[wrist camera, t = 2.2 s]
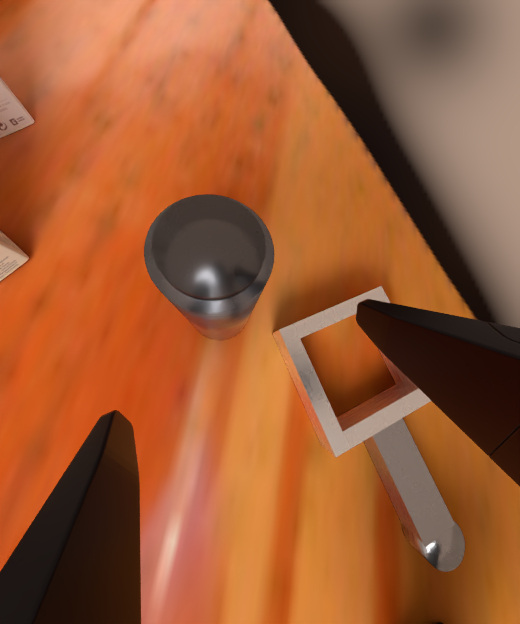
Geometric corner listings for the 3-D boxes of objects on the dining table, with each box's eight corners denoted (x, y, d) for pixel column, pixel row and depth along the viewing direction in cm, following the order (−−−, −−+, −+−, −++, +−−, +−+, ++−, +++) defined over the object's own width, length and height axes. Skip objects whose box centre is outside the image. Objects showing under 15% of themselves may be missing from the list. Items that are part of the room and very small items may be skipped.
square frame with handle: (474, 511, 18) (512, 533, 16) (381, 582, 16) (408, 620, 14) (363, 294, 21) (381, 285, 19) (272, 333, 19) (278, 329, 17)
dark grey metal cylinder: (256, 327, 19) (298, 280, 8) (204, 349, 18) (166, 331, 7) (235, 278, 20) (246, 171, 9) (183, 297, 19) (119, 204, 8)
